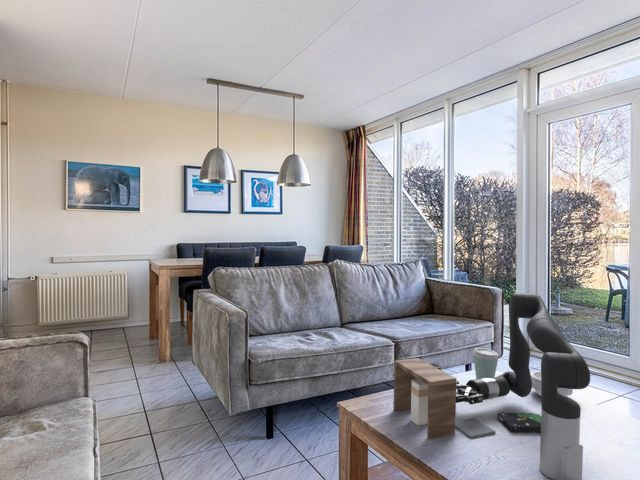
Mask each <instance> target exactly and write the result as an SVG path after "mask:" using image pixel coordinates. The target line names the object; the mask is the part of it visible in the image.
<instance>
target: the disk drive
mask: <svg viewBox="0 0 640 480" xmlns="http://www.w3.org/2000/svg"><path fill="white" fill-rule="evenodd" d="M497 420H498V421H499V422H500V423H501V425H503V426H504V428H506V430H507V431H508V432H509V433H510V434H511V433H512V434H513V433H514V434H541V413H540V414H539V413H533V412H530V413H527V412H525V413H523V412H521V413H520V412H497Z"/></svg>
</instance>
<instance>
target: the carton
mask: <svg viewBox="0 0 640 480" xmlns="http://www.w3.org/2000/svg"><path fill="white" fill-rule="evenodd" d="M410 421H412V422H413V423H414V424H416V426H417V427H419V426H424V425H425V426H426V425H427V423H428V384H426V383H424V382H423V381H421V380H419V379H418V380H412V385H411V409H410Z"/></svg>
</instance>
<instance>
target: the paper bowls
mask: <svg viewBox="0 0 640 480" xmlns="http://www.w3.org/2000/svg"><path fill="white" fill-rule="evenodd" d="M530 375H531V380H532V389H534V391H535V393H536V394H537V395H538V396H540V397H541V370H537V371H532V372H530ZM557 391H558V393H559V394H561V395H563V396H565V397H568V396H571V395H572V394H573V391H574V389H566V388H557Z"/></svg>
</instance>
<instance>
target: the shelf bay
mask: <svg viewBox="0 0 640 480" xmlns="http://www.w3.org/2000/svg"><path fill="white" fill-rule="evenodd" d="M393 363H394V369H393V373H394V374H393V409H392V410H393V411H394V412H399V411H400V412H401V411H405V410H406V411H407V410H411V385H412V380H418V379H419V380H421V381H423V382H424V383H426V384H428V423H427V424H426V425H427V428H426V429H427V432H426V433H427V434H426V437H427V439H428V440H433V439H438V438H442V437H447V436H453V435H456V428H455V421H456V420H457V419H456V417H457V416H456V414H457V412H456V411H457V410H456V409H457V403H456V396H457V394H456V392H457V389H456V381H457V380H458V379H457V378H456V377H455V376H453V375H451V374H449V373H447V372H445V371H443V370H442V369H441V370H439V369H438V368H436V367H434V366H432V365H430V364H431V363H428V362H426V361H424V360H423V359H421V358H418V357H416V358H414V357H413V358H405V359H397V360H394V362H393Z"/></svg>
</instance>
